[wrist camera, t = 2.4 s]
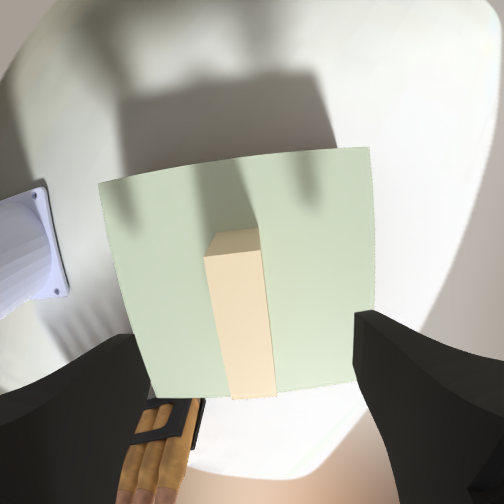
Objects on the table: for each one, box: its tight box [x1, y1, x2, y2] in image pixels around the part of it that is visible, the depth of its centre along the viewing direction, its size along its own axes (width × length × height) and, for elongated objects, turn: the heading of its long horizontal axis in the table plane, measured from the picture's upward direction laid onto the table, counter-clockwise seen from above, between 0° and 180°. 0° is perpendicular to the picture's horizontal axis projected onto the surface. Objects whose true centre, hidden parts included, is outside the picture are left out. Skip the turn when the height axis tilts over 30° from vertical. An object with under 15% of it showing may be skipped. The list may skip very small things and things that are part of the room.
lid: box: [98, 147, 375, 400], centre depth 13 cm, size 12×12×5 cm
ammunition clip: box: [116, 397, 206, 504], centre depth 17 cm, size 11×2×12 cm, turn 118°
